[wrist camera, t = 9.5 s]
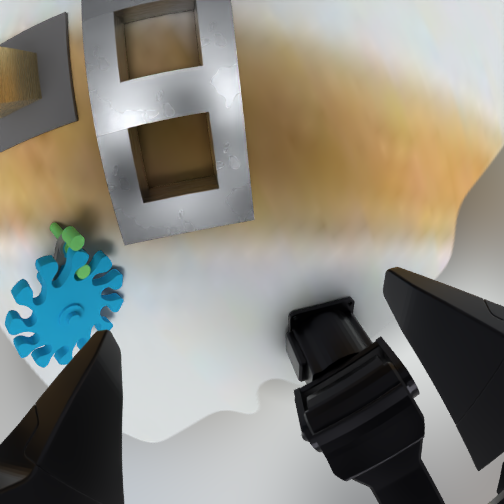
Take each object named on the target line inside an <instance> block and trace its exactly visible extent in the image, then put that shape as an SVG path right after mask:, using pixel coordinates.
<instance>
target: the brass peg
mask: <svg viewBox="0 0 504 504" xmlns="http://www.w3.org/2000/svg"><path fill="white" fill-rule="evenodd" d="M40 99H42V95H41V88H40V81H39V72H38V62H37V53H33V52H29V51H24V50H18V49H13V48H7V47H1V46H0V118H3V117H6V116H7V115H9V114H11V113H13V112H15V111H17V110H19V109H21V108H23V107H25V106H27V105H29V104H31V103H33V102H35V101H38V100H40Z"/></svg>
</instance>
